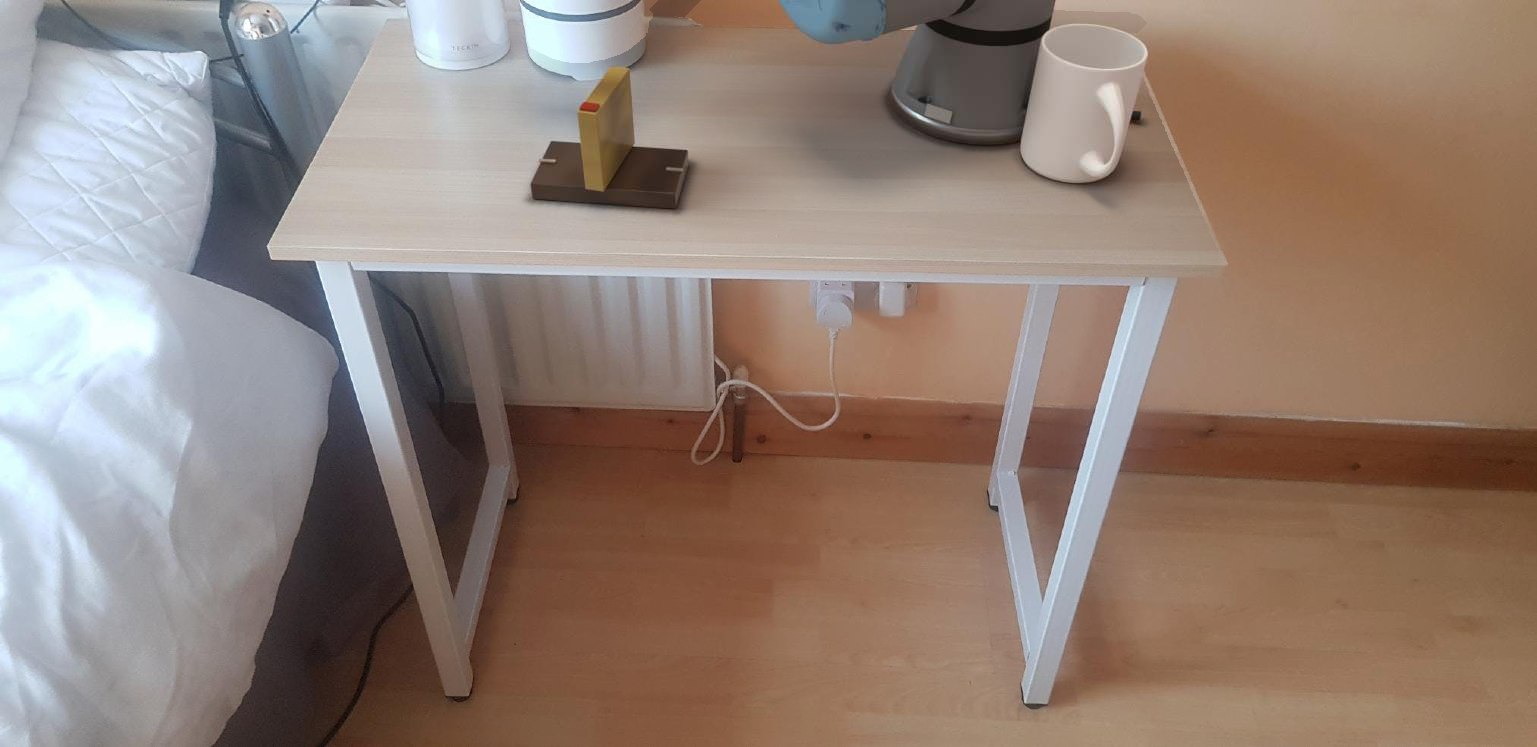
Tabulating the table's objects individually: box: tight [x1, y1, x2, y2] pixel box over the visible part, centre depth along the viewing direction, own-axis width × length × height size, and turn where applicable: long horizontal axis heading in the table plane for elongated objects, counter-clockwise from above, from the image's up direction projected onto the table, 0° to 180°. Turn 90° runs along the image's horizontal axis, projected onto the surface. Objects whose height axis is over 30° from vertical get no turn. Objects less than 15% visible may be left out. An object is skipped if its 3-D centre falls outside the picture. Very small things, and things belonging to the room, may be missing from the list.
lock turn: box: [576, 65, 636, 191], centre depth 88 cm, size 8×2×7 cm, turn 167°
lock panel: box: [530, 140, 689, 210], centre depth 91 cm, size 12×7×2 cm, turn 85°
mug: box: [1020, 23, 1149, 184], centre depth 91 cm, size 9×12×11 cm
